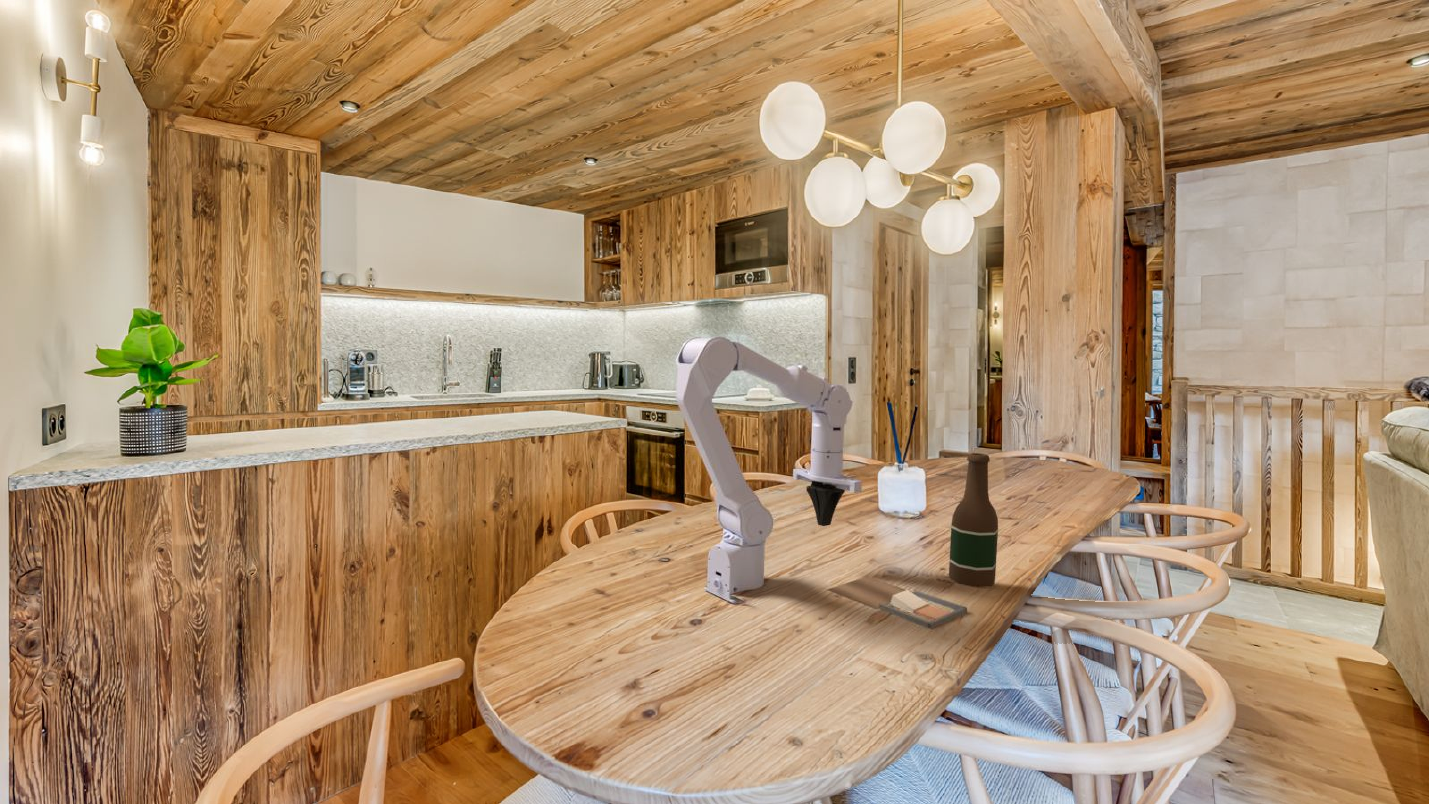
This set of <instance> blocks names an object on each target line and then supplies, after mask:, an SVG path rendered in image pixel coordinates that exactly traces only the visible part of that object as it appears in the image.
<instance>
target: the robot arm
mask: <svg viewBox="0 0 1429 804" xmlns="http://www.w3.org/2000/svg"><path fill="white" fill-rule="evenodd" d="M675 364H676V367H677V376H676V377H677V378H676V379H677V380H676V390H675V391H676V394H675V400H676V402H677V406H678V408H679V410H680V412H681V415H682V417H683V418H684V421H685V423H686V425H687V428H688V431H689V432H690V435H691V436H692V439H693V441H694V442H693V443H694V444H695V446H696V449H697V452H698V453H699V455H700V458H701V460H702V462H703V465H704V467H705V469H706V471H707V473H708V476H709V479H710V480H711V483H712V485H713V487H714V489H715V492H716V494H715V496H714V502H715V504H716V510H717V511H716V518H717V522H718V525H720V526H721V528H722V539H721V540H720V542H719V543H717V544H716V545H713V546H711V548H710V549H709V552H708V555H707V573H706V574H707V578H706V579H707V580H706V585H705V586H704V587H703V589H704V591H706V592H708V593H711V594H712V595H715V596H716V597H719V598H721V599H723V600H725V601H727V602H730V603H732V604H737V603H740V602H743V601H744V600H742V598H741V599H740V598H738V597H736V596H735V595H732V594H736V593H739V592H743V591H749V590H756V589H759V588H760V587H761V588H762V586H763V585H764V583H765V575H764V574H765V552H766V551H765V550H766V541H767V539H768V538H769V536H770V535H771V533H772V532H773V528H774V518H773V515H772V513H771V512H770V510H769V509H768V508H767V507H765V506H764V505H763V503H761V500H760V498H759V496H758V495H757V494H756V493H755V492H754V490H753V489H752V488H751V487H750V486H749V484H748V483H747V481H746V479H745V475H744V474H743V472H742V469H741V467H740V464H739V462H738V460H737V457H736V455H735V452H734V449H733V448H732V445H731V442H730V441H729V439H728V437H727V433H726V432H725V429H724V427H723V425H722V423H721V420H720V418H719V414H718V413H717V410H716V408H715V406H714V404H713V397H714V396H715V394H716V392H717V389H718V388H719V387H720V386H721V385H722V384H723V382H724V381H725V380H726V379H727V377H729V376H730V375H731V373H732V372H741V371H743V372H745V373H747V374H750V375H752V376H755V377H756V378H759V379H761V380H764V381H766V382H768V383H771V384H773V385H776V388H777V391H778V393H779V395H780V396H781V397H784V398H786V399H788V400H790V401H793V402H795V403H796V404H798V405H801V406H803V407H804V408H805V407H806V409H808V411H809V412H810V413H811V414H812V415H811V416H812V417H811V444H810V447H811V448H810V468H809V469H808V468H803V467H799V468H793V471H792V472H793V473H792V479H793V480H796V481H798V480H799V481H800V480H801V481H805V482H809V483H811V484H810V485H807V486H806V489H805V490H806V492H807V494H808V496H809V498H810V500H811V503H812V506H813V508H814V511H815V516H816V521H817V522H816V523H817V525H819V526H821V527H827V526H830V525H831V524H832V520H833V518H834V517H833V516H834V514H835V511H836V508H837V506H838V504H839V501H840V500H841V498H842V496H844V494H845V492H846V491H849V492H850V493H853V494H856V493H861V492H862V487H863V481H862V480H859V479H855V478H854V477H850V476H847V475H845V473H844V472H843V465H844V464H843V463H844V439H845V438H844V437H845V425H846V424H847V417H848V414H849V413H850V411H851V410H852V407H853V400H852V399H851V397H850V394H849V391H847V389H846V387H844V386H843V385H839V384H830V383H829V381H828V380H829V379H828V378H827V377H825V376H820V377H819V376H817V375H815V374H813V373H811V372H809V371H808V369H809V367H807V366H805V365H803V364H798V365H791V366H788V367H786V368H785V367H784V366H782V365H779V364H778V363H776V362H774V361H772V360H771V359H769V358H768V357H765V356H763V355H762V354H760V353H759V352H757V351H754V349H751V348H749V347H747V346H745V345H744V344H742V343H740V342H737V341H731V340H730V339H729V338H728V337H727V338H726V337H724V336H714V337H701V336H699V337H698V336H696V337H695V336H693V337H691V338H689V339H687V340H686V341H685V342H684V343H683V344H682V346H681V348H680V350H679V352H678V355H677V356H676V358H675Z"/></svg>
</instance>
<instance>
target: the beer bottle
mask: <svg viewBox="0 0 1429 804" xmlns="http://www.w3.org/2000/svg"><path fill="white" fill-rule="evenodd" d="M966 461H968V462H967V463H968V465H967V470H966V471H967V472H966V478H965V479H966V482H965V488H964V489H965V490H964V493H963V498H962V499H961V501H960V502H959V503H958V505H957V506H956V507H955V509H954V512H953V514H952V518H951V519H952V520H951V524H950V525H951V527H950V544H949V545H950V546H949V563H948V564H949V565H948V566H949V567H948V568H949V569H948V578H949V579H950V580H952V581H953V582H955V583H956V584H958V585H962V586H963V585H964V586H968V587H972V588H987V587H988V588H990V587H992V586H995V581H996V573H997V572H996V570H997V569H996V568H997V554H998V553H997V552H998V539H999V538H998V535H999V519H998V515H997V513H996V512H997V511H996V509H995V508H994V505H993V504H992V503H991V501H990V497H989V496H990V495H989V462H991V459H990V455H988V454H985V453H979V452H976V453H975V452H971V453H969V454H968V455H967V457H966Z"/></svg>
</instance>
